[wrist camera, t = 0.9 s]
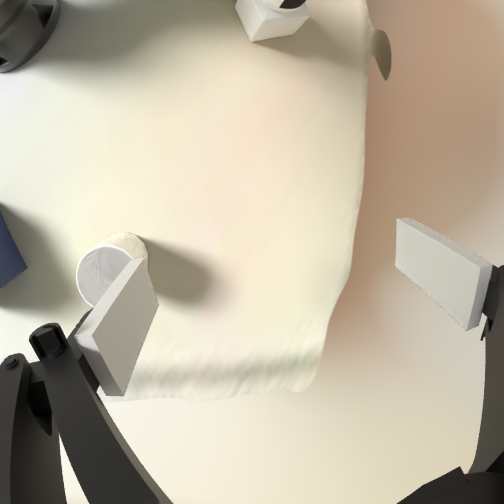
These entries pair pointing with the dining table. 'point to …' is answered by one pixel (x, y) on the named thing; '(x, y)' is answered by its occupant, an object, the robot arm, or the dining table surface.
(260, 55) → the dining table surface
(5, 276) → the blue wedge block
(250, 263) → the dining table surface
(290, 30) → the medicine bottle
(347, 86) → the dining table surface
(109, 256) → the white cup
